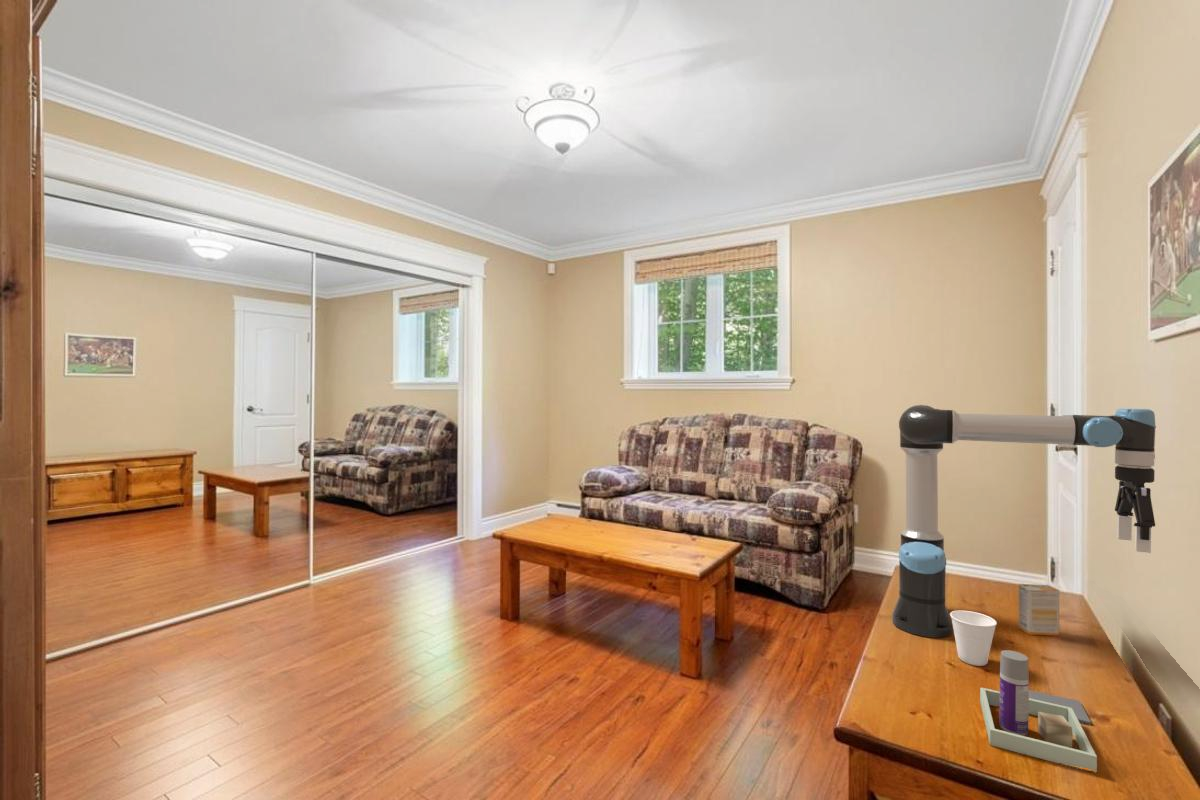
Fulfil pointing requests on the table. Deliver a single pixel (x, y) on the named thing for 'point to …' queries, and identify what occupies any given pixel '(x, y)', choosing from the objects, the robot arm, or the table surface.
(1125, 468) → the robot arm
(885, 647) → the table surface
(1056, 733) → the maple block
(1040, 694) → the pad
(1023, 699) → the container
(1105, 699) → the table surface
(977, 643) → the cup
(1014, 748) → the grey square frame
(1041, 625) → the supplement box
